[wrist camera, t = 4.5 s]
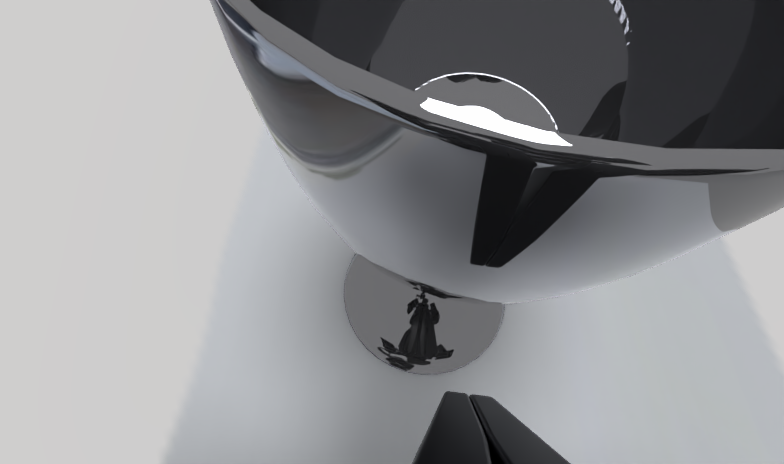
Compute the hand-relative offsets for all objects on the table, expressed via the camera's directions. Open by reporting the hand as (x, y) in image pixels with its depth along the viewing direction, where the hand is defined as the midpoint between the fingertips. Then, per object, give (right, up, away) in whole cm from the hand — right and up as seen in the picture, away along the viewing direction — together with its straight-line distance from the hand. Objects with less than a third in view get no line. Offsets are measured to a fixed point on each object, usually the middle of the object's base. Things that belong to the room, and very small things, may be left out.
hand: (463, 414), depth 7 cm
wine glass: (0, +1, +11) cm, 11 cm away
